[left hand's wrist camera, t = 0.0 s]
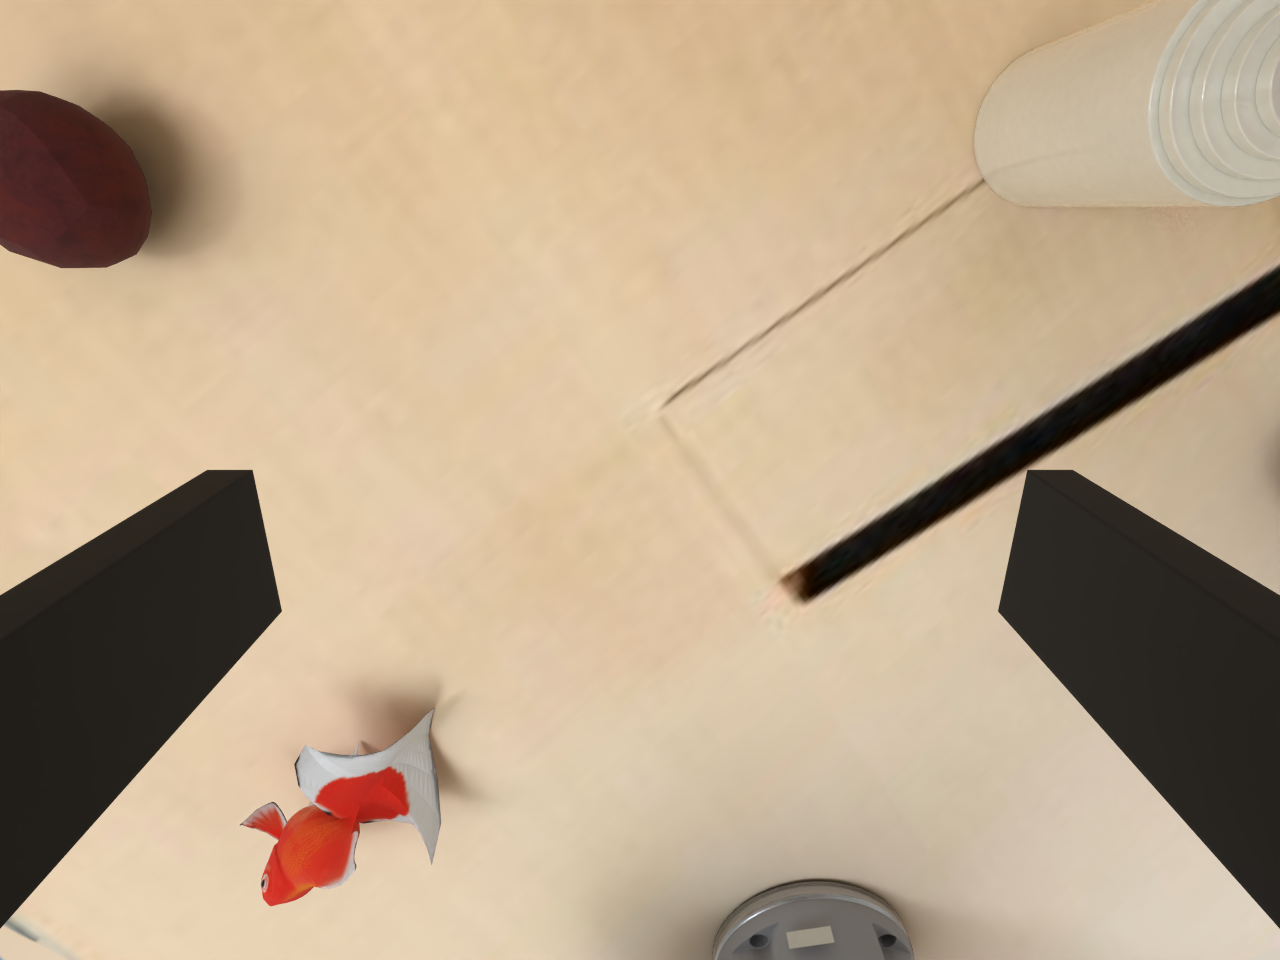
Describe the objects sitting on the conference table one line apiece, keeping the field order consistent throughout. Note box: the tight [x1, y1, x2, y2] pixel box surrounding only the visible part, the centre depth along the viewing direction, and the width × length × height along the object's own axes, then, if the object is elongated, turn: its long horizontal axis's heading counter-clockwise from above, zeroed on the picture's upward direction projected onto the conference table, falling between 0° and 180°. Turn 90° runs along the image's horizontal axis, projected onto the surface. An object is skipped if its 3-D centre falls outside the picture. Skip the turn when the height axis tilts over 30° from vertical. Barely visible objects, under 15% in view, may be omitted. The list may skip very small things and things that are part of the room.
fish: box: [240, 708, 441, 906], centre depth 45 cm, size 11×16×10 cm
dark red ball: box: [0, 90, 152, 268], centre depth 33 cm, size 7×8×7 cm
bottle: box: [974, 0, 1280, 207], centre depth 27 cm, size 7×7×18 cm
